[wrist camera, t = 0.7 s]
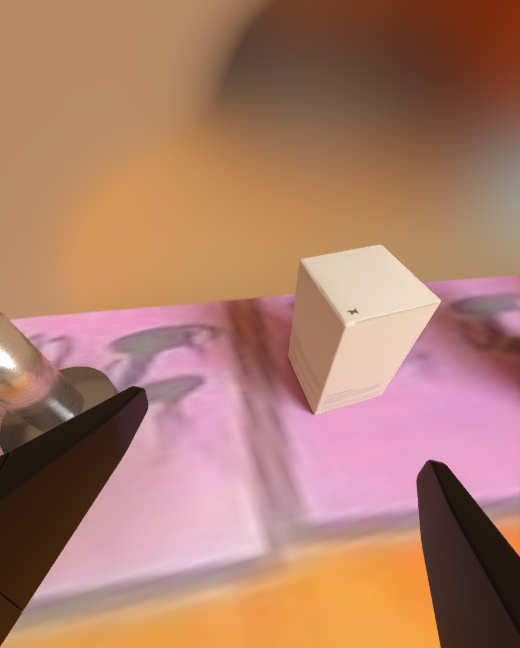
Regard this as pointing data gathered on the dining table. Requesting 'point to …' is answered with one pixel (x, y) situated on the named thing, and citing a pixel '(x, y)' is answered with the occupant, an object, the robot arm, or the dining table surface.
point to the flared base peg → (41, 389)
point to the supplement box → (354, 324)
